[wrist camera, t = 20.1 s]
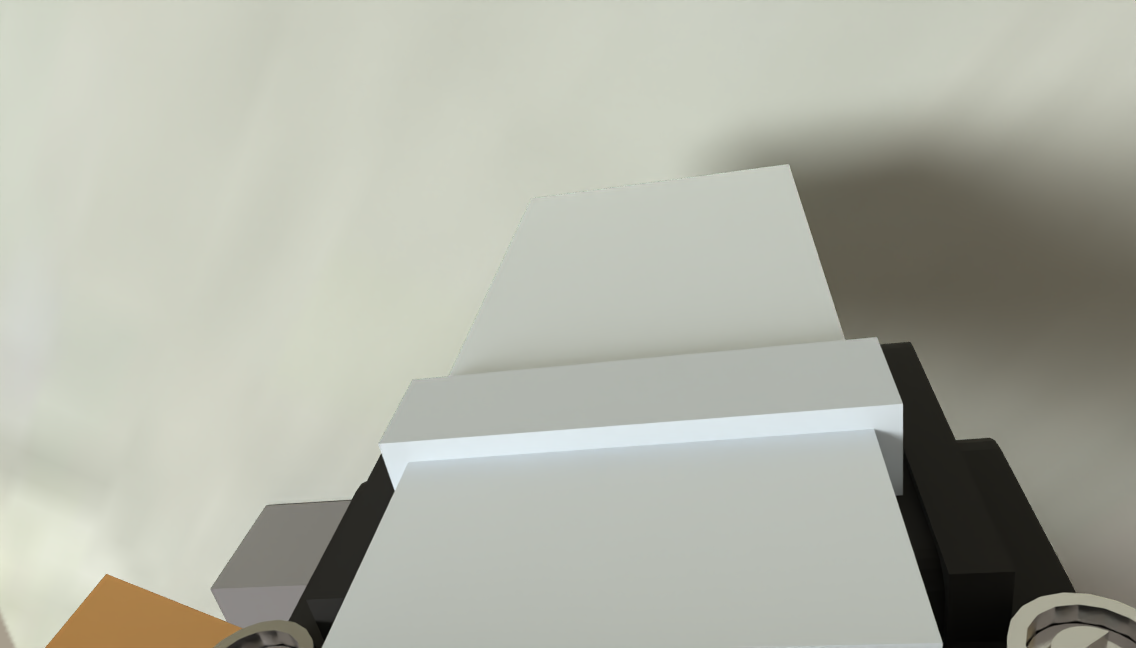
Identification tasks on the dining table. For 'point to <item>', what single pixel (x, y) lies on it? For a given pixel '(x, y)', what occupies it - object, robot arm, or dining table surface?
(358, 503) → the robot arm
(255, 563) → the socket block
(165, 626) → the try square
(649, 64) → the dining table surface
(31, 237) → the dining table surface
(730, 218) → the plug
